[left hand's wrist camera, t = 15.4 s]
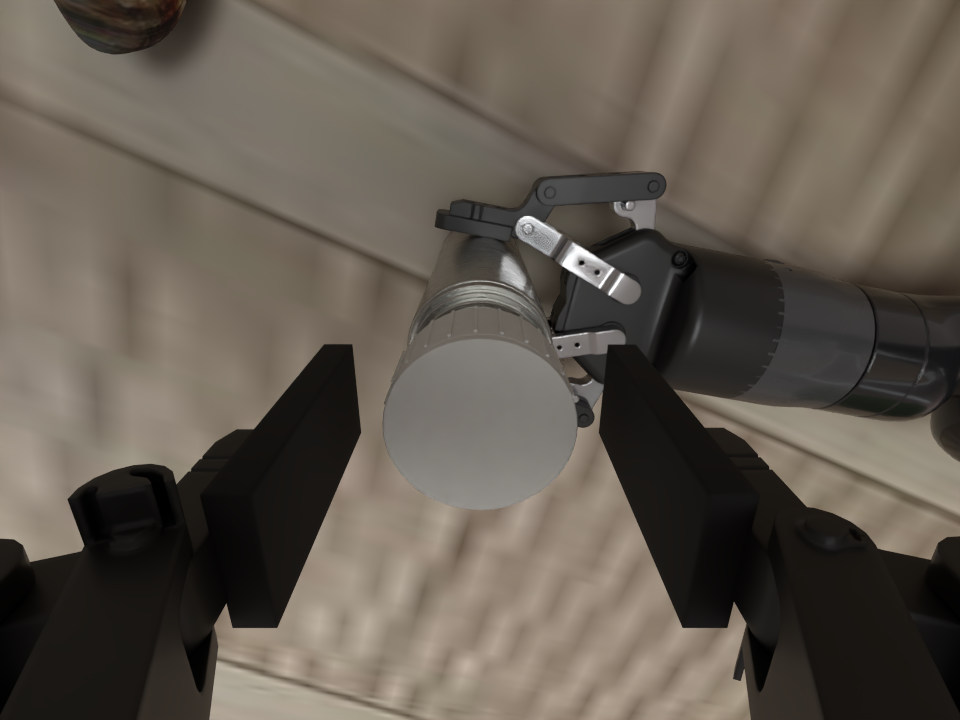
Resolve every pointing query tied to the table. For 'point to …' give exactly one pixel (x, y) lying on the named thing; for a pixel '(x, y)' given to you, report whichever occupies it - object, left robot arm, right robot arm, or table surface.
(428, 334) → the cap
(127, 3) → the seashell
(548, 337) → the bottle
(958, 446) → the right robot arm
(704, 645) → the table surface
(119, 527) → the left robot arm
